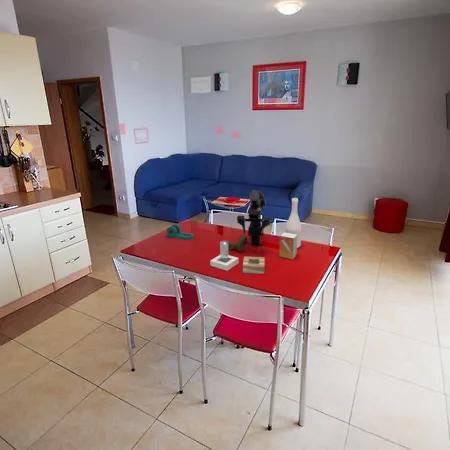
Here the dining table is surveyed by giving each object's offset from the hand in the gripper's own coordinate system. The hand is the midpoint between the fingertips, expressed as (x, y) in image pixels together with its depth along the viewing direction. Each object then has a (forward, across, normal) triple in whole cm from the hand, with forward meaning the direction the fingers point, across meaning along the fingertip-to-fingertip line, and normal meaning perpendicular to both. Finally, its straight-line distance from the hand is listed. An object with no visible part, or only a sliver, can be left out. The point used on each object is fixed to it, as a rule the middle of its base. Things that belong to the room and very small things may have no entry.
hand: (252, 233), depth 177 cm
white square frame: (+19, -14, 0) cm, 23 cm away
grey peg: (+19, -13, 0) cm, 23 cm away
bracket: (-6, -50, +26) cm, 57 cm away
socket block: (+20, +3, -1) cm, 21 cm away
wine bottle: (-3, +23, +22) cm, 32 cm away
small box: (+8, +20, +12) cm, 25 cm away
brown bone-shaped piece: (+3, -10, +17) cm, 20 cm away
